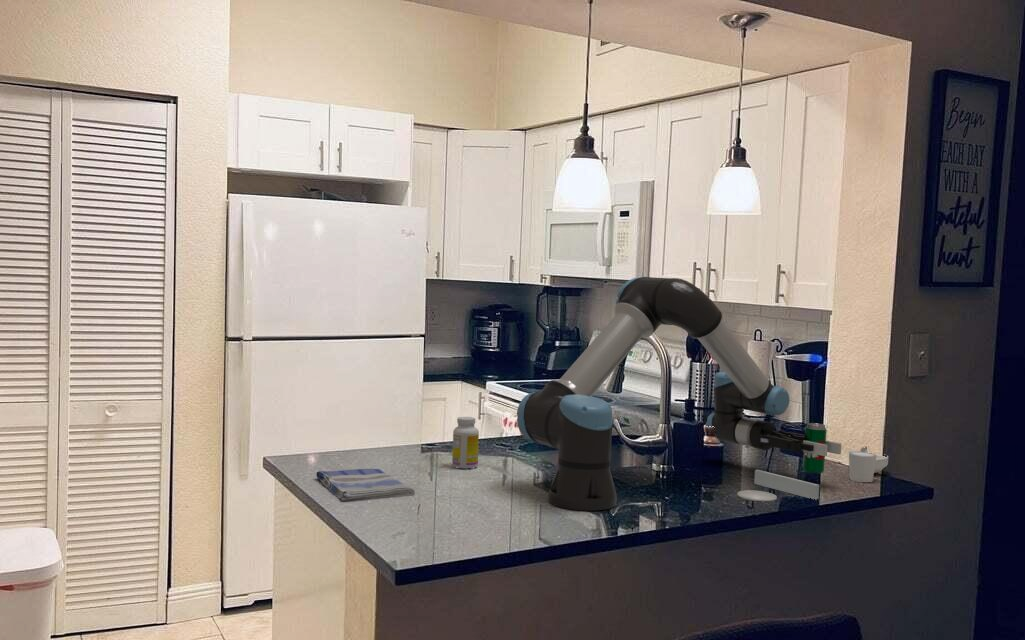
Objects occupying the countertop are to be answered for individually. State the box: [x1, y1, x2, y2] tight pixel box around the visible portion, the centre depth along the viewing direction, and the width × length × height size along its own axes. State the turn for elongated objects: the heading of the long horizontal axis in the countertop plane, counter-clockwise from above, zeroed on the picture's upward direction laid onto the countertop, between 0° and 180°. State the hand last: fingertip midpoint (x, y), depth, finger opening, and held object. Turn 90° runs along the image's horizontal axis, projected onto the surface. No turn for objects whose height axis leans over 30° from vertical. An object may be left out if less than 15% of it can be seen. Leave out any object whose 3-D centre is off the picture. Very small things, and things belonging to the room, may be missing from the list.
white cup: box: [848, 451, 877, 483], centre depth 230 cm, size 7×7×7 cm
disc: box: [737, 489, 778, 503], centre depth 208 cm, size 9×9×1 cm
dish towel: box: [315, 468, 416, 502], centre depth 204 cm, size 17×24×3 cm
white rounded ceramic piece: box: [848, 446, 889, 474], centre depth 240 cm, size 10×12×7 cm
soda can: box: [802, 422, 828, 475], centre depth 220 cm, size 5×5×12 cm
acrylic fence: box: [753, 469, 820, 501], centre depth 214 cm, size 18×1×4 cm, turn 36°
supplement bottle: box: [451, 416, 480, 469], centre depth 228 cm, size 7×7×13 cm
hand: (833, 449), depth 216 cm, fingers closed on soda can, 5 cm apart
